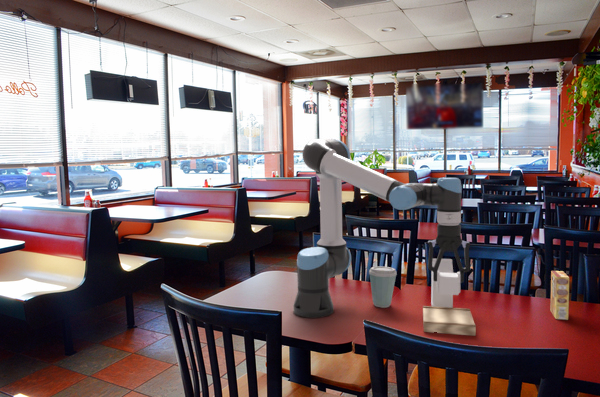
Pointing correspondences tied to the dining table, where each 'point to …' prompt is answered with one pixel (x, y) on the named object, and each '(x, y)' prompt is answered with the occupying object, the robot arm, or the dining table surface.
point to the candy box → (559, 295)
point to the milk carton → (436, 297)
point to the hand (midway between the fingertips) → (448, 290)
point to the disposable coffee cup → (382, 285)
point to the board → (448, 320)
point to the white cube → (448, 283)
